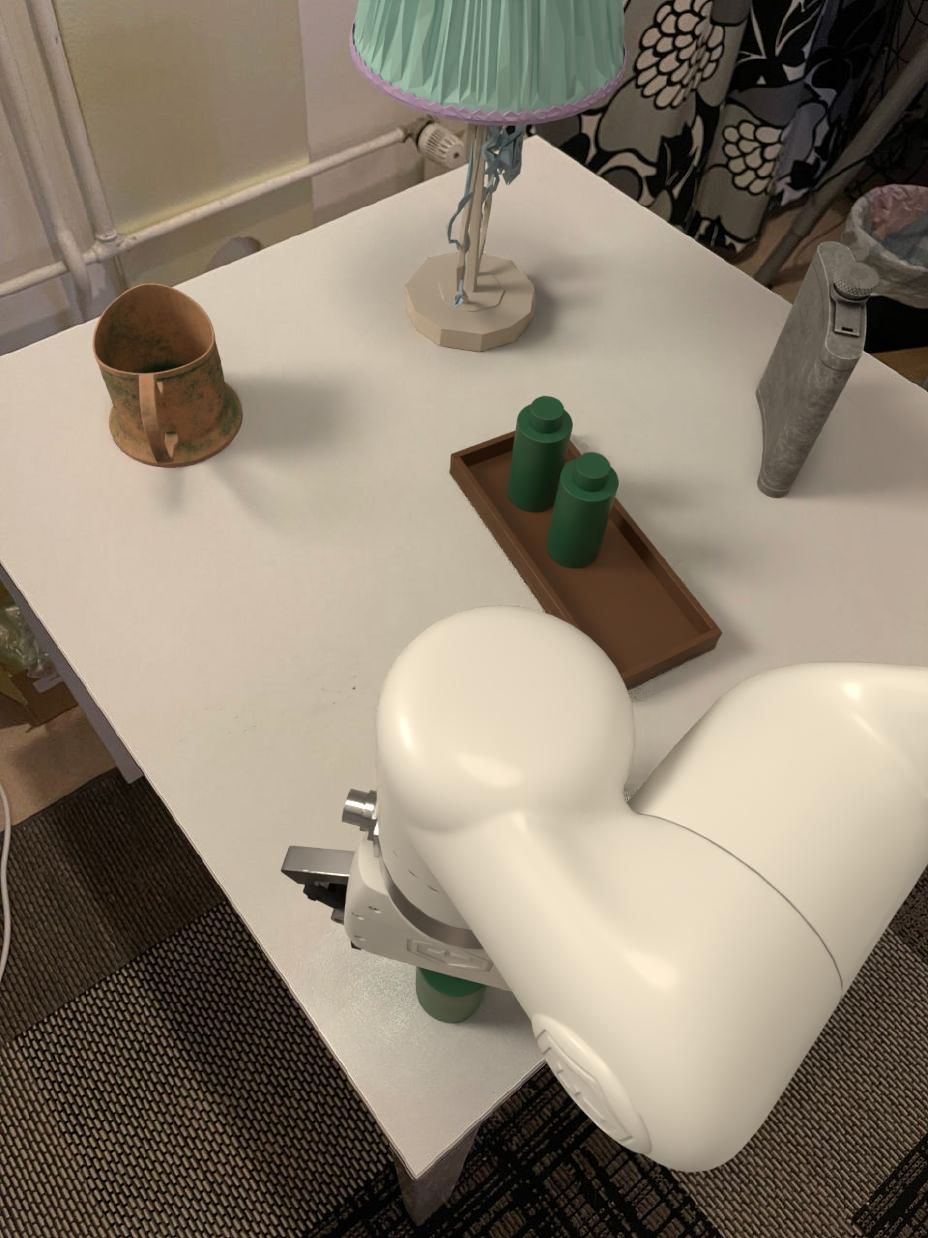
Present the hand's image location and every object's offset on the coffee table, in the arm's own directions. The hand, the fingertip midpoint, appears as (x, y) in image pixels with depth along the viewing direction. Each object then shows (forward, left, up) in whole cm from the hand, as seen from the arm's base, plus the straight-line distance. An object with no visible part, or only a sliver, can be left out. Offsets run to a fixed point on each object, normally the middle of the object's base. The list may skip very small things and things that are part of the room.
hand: (451, 944), depth 50 cm
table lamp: (+56, -32, -10) cm, 65 cm away
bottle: (0, 0, -10) cm, 10 cm away
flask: (+28, -49, -10) cm, 57 cm away
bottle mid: (+25, -25, -9) cm, 37 cm away
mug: (+51, 0, -10) cm, 52 cm away
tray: (+25, -25, -10) cm, 36 cm away
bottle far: (+32, -25, -9) cm, 41 cm away
